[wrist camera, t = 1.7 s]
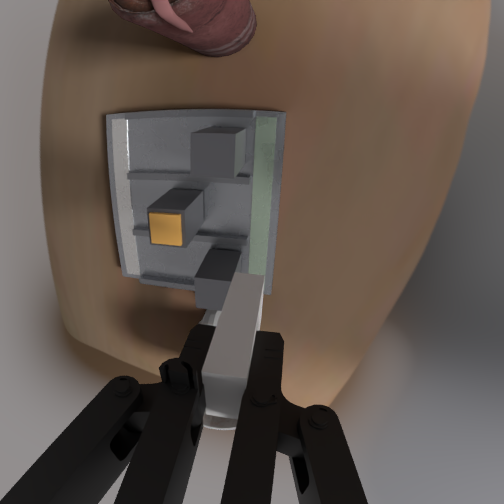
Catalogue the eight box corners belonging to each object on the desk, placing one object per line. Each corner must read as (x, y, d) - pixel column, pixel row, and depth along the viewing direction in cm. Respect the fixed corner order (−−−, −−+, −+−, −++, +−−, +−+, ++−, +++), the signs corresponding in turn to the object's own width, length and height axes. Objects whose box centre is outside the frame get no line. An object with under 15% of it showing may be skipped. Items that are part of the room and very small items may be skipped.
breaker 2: (209, 248, 28) (194, 277, 24) (241, 252, 28) (231, 281, 24) (210, 276, 30) (196, 307, 25) (240, 279, 29) (231, 312, 25)
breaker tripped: (170, 189, 26) (144, 209, 21) (203, 190, 26) (183, 211, 21) (172, 220, 27) (148, 246, 23) (203, 223, 27) (185, 250, 22)
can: (203, 71, 22) (118, 48, 10) (177, 15, 20) (86, -37, 8) (269, 44, 21) (245, -17, 8) (241, -13, 18) (194, -97, 6)
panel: (114, 113, 25) (101, 115, 23) (286, 111, 23) (285, 112, 21) (128, 269, 33) (119, 280, 31) (271, 286, 31) (270, 299, 29)
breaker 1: (209, 127, 23) (190, 132, 19) (246, 128, 23) (235, 133, 18) (209, 162, 25) (190, 176, 20) (244, 164, 24) (234, 178, 20)
